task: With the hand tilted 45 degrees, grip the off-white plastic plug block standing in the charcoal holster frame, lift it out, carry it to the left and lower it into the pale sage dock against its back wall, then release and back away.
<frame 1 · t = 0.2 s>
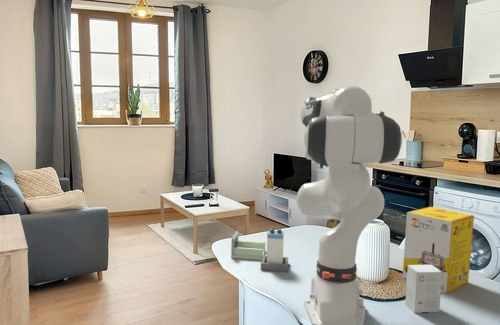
hand: (332, 174, 145), 38 cm above the table, tool pointing down, fingers open, 8 cm apart
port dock: (248, 254, 172), on the table
small box: (421, 308, 126), on the table
plug block: (275, 248, 158), in the holster frame
holster frame: (274, 266, 159), on the table
packaging box: (434, 280, 149), on the table
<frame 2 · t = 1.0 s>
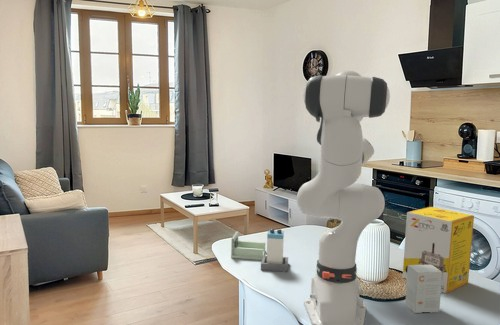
hand: (309, 197, 155), 28 cm above the table, tool tilted 45°, fingers open, 8 cm apart
nothing on the table moved.
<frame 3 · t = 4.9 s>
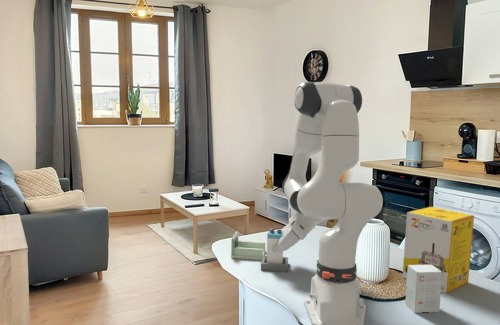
hand: (273, 248, 158), 7 cm above the table, tool tilted 45°, fingers closed on plug block, 5 cm apart
plug block: (275, 248, 158), in the holster frame, touching gripper
everything else where it was.
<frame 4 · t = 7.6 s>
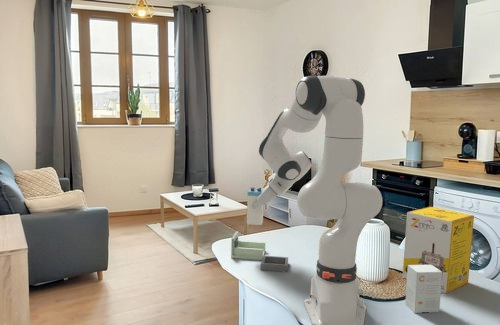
hand: (253, 205, 167), 22 cm above the table, tool tilted 45°, fingers closed on plug block, 5 cm apart
plug block: (255, 205, 167), point 22 cm above the table, touching gripper
everything else where it was.
when the fingers open (10 cm above the table, at t = 10.4 s): plug block drops 1 cm, resting on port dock.
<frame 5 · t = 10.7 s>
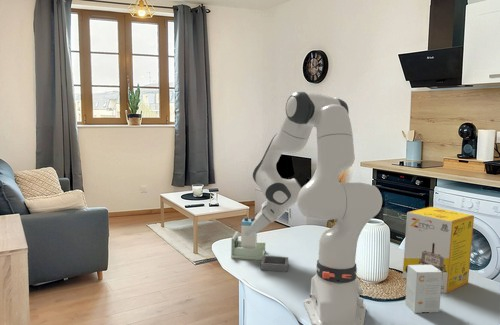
hand: (247, 231, 171), 10 cm above the table, tool tilted 45°, fingers open, 8 cm apart
plug block: (249, 234, 171), point 8 cm above the table, touching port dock
everything else where it was.
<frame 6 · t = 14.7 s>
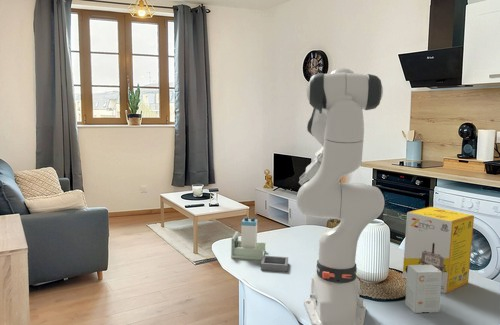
hand: (299, 181, 170), 31 cm above the table, tool tilted 45°, fingers open, 8 cm apart
nothing on the table moved.
at the end: plug block inside the target area on the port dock (0.3 cm from its centre), point 8.4 cm above the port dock's base; plug block tilted 0°; the gripper is holding nothing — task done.
